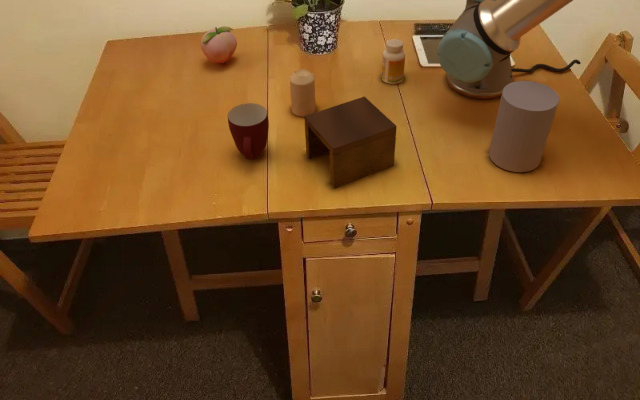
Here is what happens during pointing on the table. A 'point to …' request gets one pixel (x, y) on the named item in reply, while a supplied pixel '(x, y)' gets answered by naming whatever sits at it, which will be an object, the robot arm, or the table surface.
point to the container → (523, 125)
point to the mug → (249, 129)
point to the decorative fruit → (219, 44)
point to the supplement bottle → (393, 62)
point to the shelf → (351, 139)
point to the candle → (302, 92)
